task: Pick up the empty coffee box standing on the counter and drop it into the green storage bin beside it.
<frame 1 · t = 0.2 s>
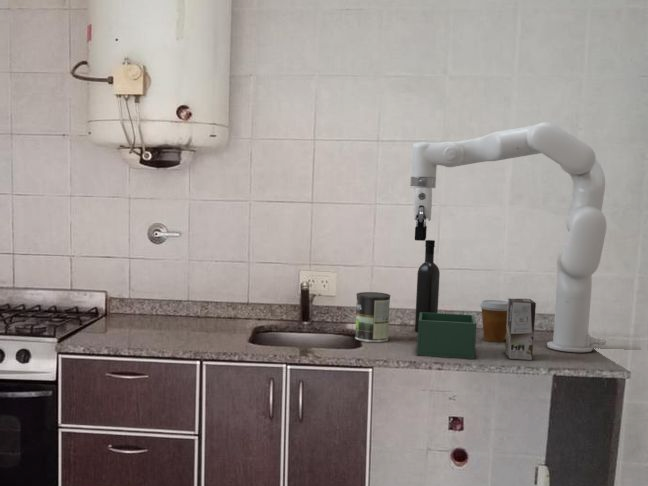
hand: (420, 239, 250), 31 cm above the countertop, tool pointing down, fingers open, 9 cm apart
disposable coffee cup: (494, 340, 255), on the countertop
green storage bin: (445, 351, 236), on the countertop
coffee box: (518, 357, 231), on the countertop
wine bottle: (425, 332, 268), on the countertop
coffee can: (371, 339, 253), on the countertop
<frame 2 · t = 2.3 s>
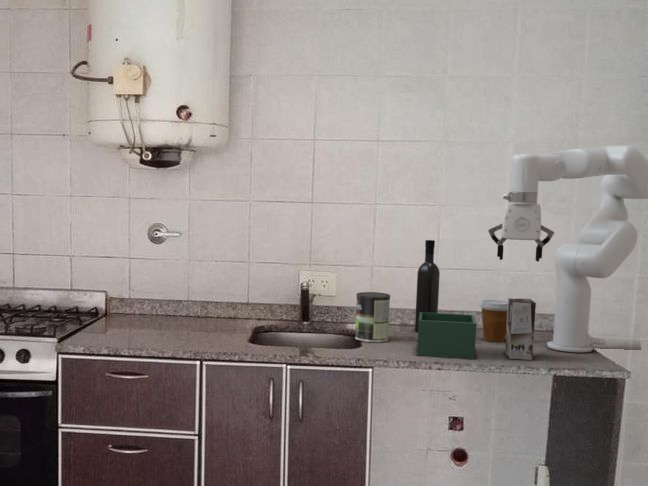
hand: (519, 260, 229), 27 cm above the countertop, tool pointing down, fingers open, 9 cm apart
nothing on the countertop moved.
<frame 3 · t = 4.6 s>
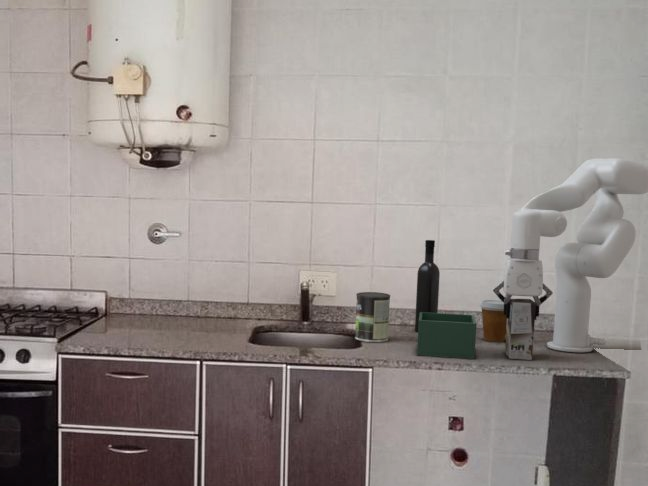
hand: (520, 317, 230), 11 cm above the countertop, tool pointing down, fingers closed on coffee box, 6 cm apart
coffee box: (518, 357, 231), on the countertop, touching gripper
everything else where it was.
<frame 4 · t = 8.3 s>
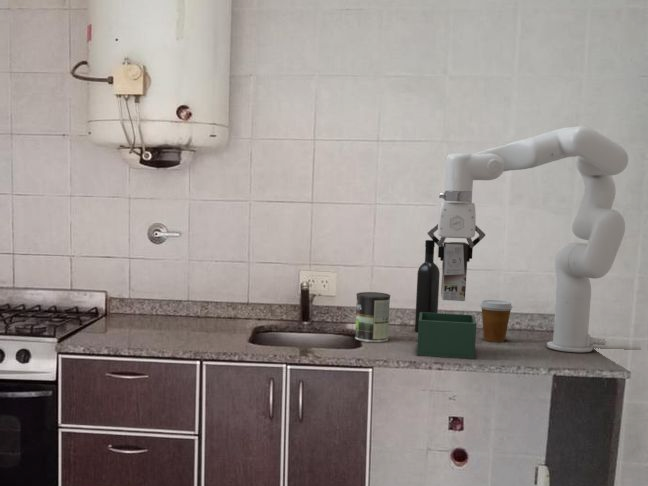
hand: (454, 260, 232), 27 cm above the countertop, tool pointing down, fingers closed on coffee box, 6 cm apart
coffee box: (452, 299, 234), point 15 cm above the countertop, touching gripper
everything else where it was.
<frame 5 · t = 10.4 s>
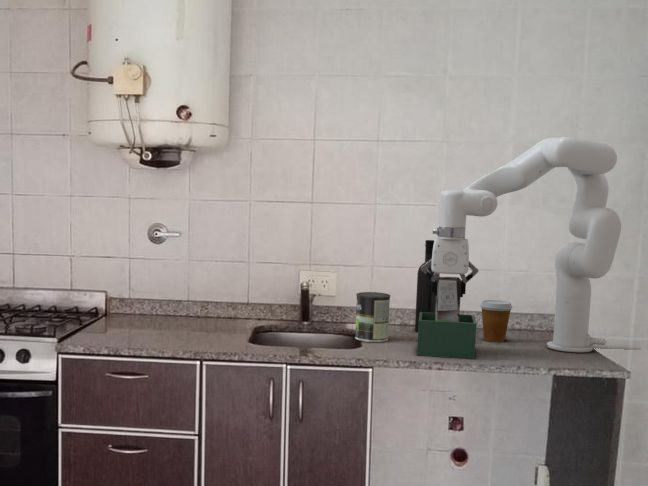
hand: (448, 295, 234), 16 cm above the countertop, tool pointing down, fingers closed on coffee box, 6 cm apart
coffee box: (446, 334, 235), point 5 cm above the countertop, touching gripper
everything else where it was.
when the fingers open (12 cm above the countertop, at t = 12.0 s): coffee box stays where it is, resting on green storage bin.
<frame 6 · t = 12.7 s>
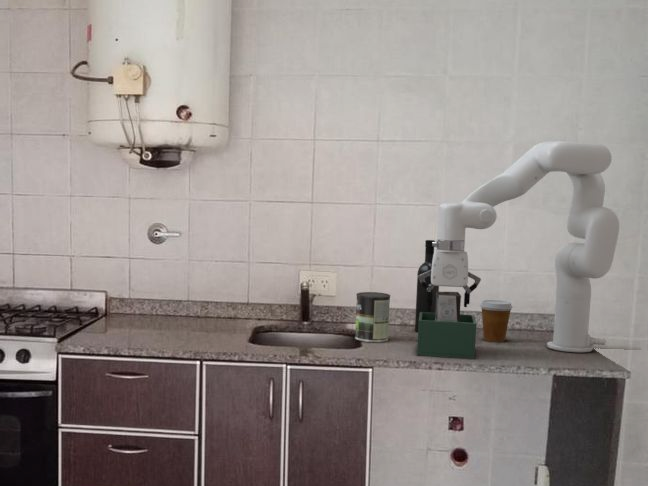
hand: (447, 305, 234), 13 cm above the countertop, tool pointing down, fingers open, 9 cm apart
coffee box: (445, 348, 236), point 1 cm above the countertop, touching green storage bin
everything else where it was.
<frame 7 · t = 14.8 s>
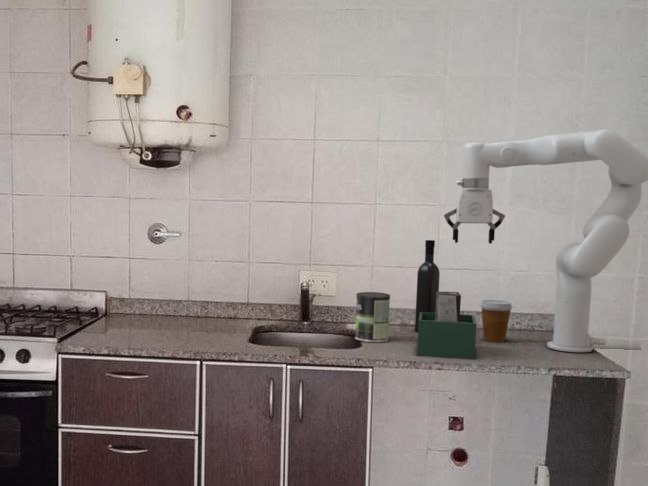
hand: (473, 242, 242), 31 cm above the countertop, tool pointing down, fingers open, 9 cm apart
nothing on the countertop moved.
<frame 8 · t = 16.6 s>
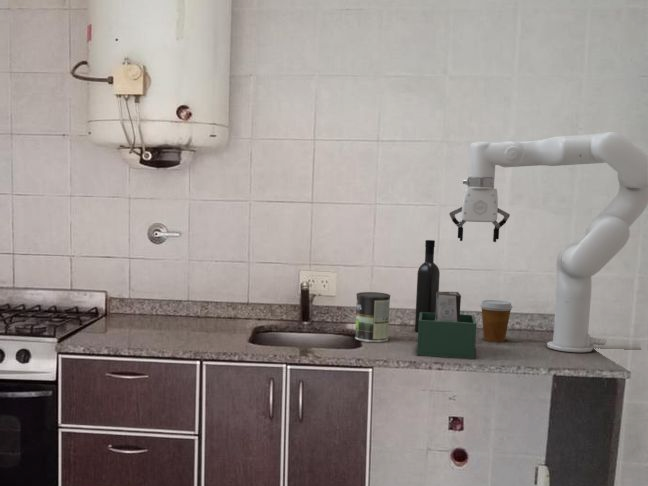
hand: (477, 241, 244), 31 cm above the countertop, tool pointing down, fingers open, 9 cm apart
nothing on the countertop moved.
at the end: coffee box inside the target area in the green storage bin (0.1 cm from its centre), point 0.8 cm above the green storage bin's base; the gripper is holding nothing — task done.
